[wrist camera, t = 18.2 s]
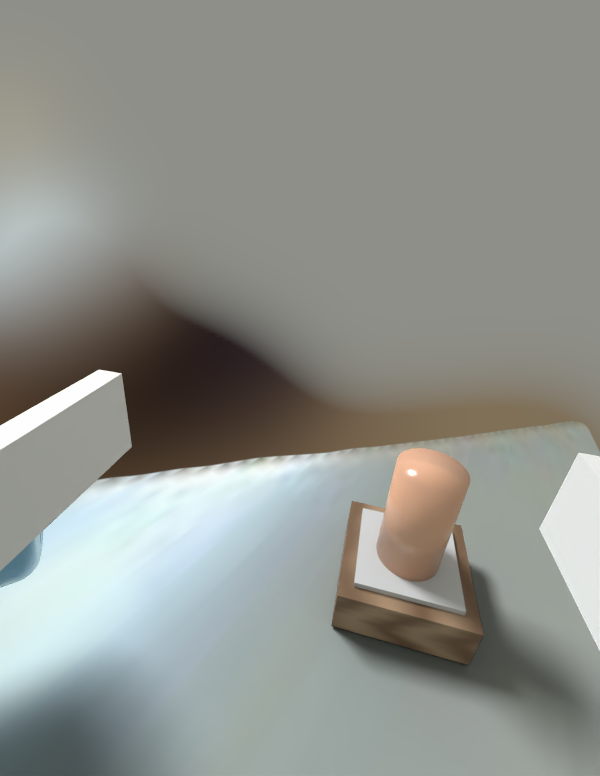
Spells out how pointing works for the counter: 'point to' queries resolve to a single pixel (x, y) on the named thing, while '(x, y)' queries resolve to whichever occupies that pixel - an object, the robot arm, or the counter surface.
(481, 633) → the walnut base
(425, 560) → the peach glossy cylinder
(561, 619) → the counter surface
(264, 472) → the counter surface
